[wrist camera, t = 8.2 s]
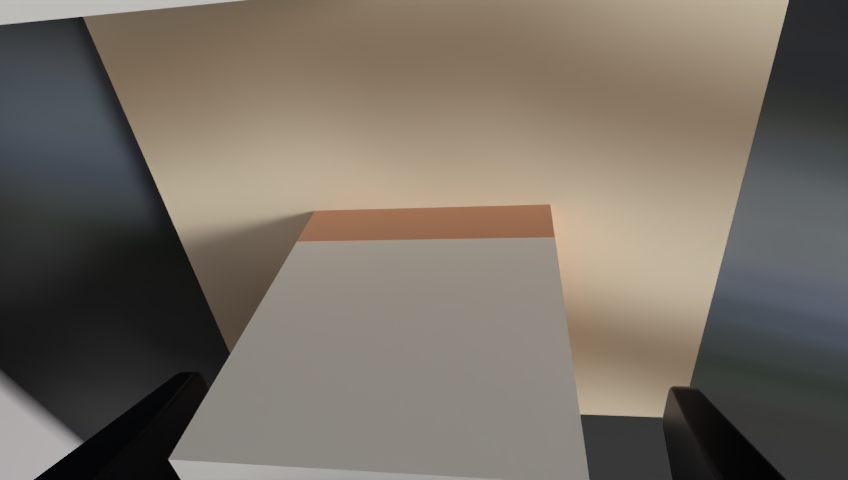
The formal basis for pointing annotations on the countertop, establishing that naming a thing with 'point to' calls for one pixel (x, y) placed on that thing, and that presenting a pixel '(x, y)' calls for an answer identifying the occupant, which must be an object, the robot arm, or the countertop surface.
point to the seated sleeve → (82, 8)
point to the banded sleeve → (401, 357)
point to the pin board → (463, 144)
